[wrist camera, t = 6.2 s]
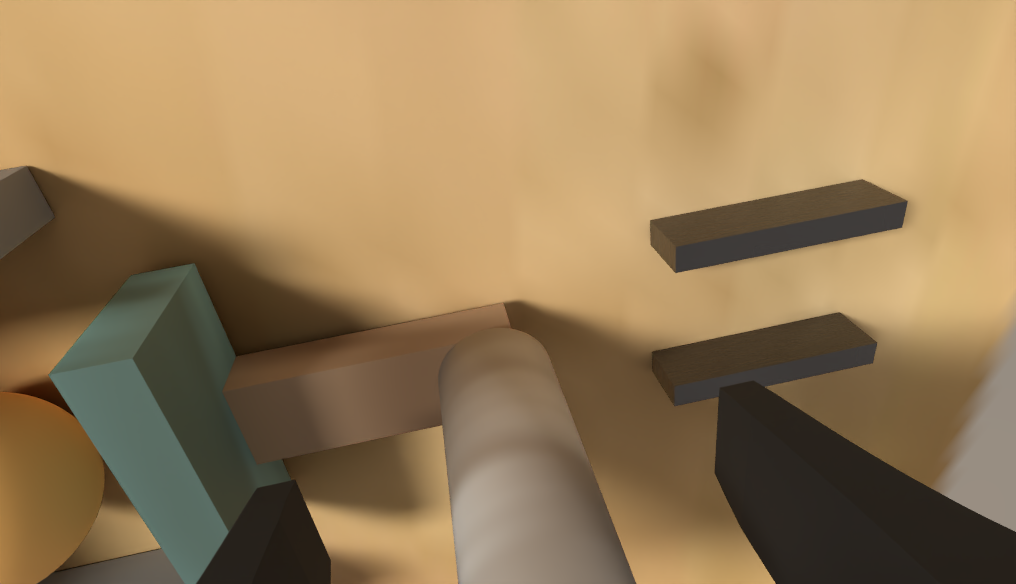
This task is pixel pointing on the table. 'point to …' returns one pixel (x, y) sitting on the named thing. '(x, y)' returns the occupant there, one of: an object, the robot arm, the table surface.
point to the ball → (43, 487)
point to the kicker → (338, 426)
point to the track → (757, 234)
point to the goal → (3, 226)
